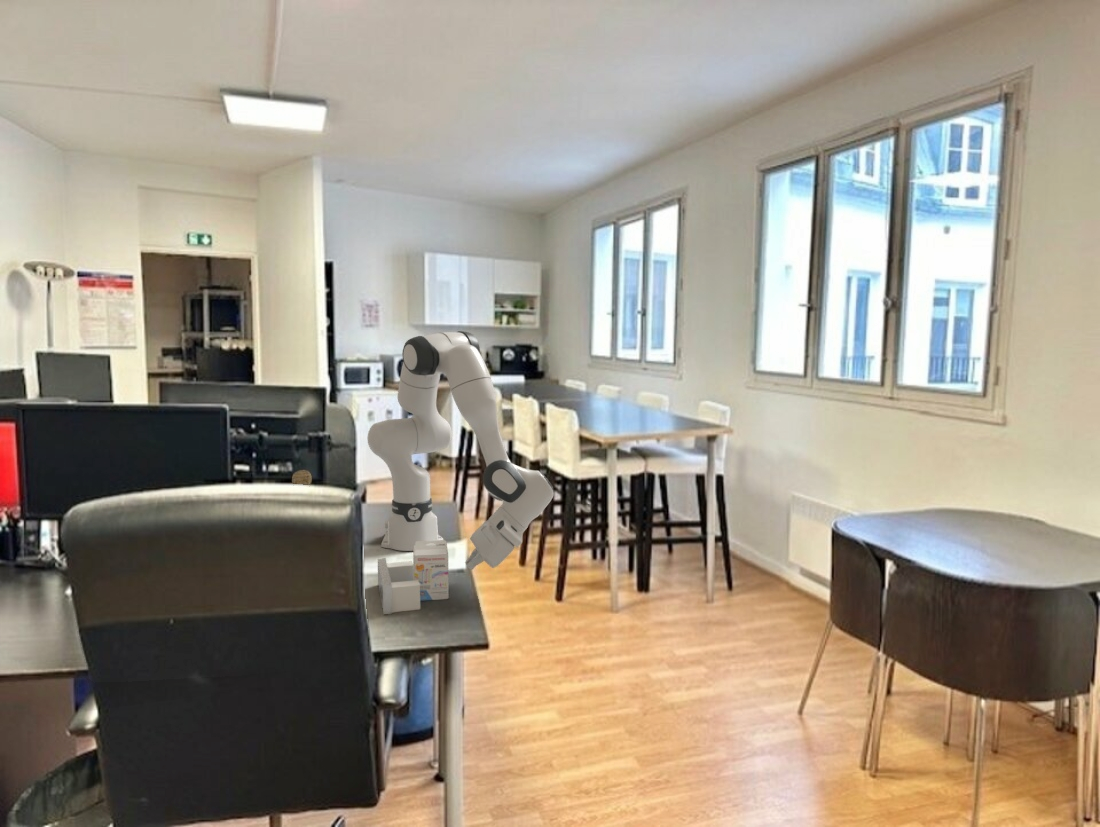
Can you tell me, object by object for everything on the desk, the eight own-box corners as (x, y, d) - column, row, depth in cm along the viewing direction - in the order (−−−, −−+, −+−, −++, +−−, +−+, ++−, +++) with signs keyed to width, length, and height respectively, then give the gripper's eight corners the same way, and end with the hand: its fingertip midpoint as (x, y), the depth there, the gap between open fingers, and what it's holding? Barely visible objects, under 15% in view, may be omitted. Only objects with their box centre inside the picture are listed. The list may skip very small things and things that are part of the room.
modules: (386, 585, 187) (385, 563, 186) (412, 583, 189) (411, 560, 188) (392, 612, 170) (391, 587, 169) (420, 609, 172) (419, 585, 171)
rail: (378, 585, 187) (377, 558, 186) (386, 584, 188) (385, 558, 187) (383, 614, 168) (382, 586, 167) (392, 613, 169) (391, 585, 168)
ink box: (413, 601, 176) (412, 548, 175) (413, 589, 184) (412, 538, 183) (449, 599, 178) (448, 546, 176) (447, 587, 186) (446, 536, 184)
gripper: (488, 508, 194) (452, 547, 192) (505, 528, 174) (466, 571, 172) (504, 523, 195) (469, 561, 194) (523, 545, 176) (484, 588, 174)
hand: (468, 566), depth 183 cm, fingers closed
